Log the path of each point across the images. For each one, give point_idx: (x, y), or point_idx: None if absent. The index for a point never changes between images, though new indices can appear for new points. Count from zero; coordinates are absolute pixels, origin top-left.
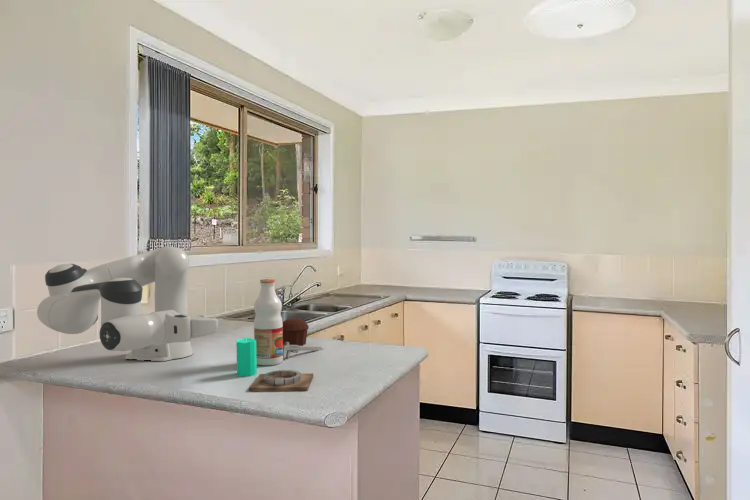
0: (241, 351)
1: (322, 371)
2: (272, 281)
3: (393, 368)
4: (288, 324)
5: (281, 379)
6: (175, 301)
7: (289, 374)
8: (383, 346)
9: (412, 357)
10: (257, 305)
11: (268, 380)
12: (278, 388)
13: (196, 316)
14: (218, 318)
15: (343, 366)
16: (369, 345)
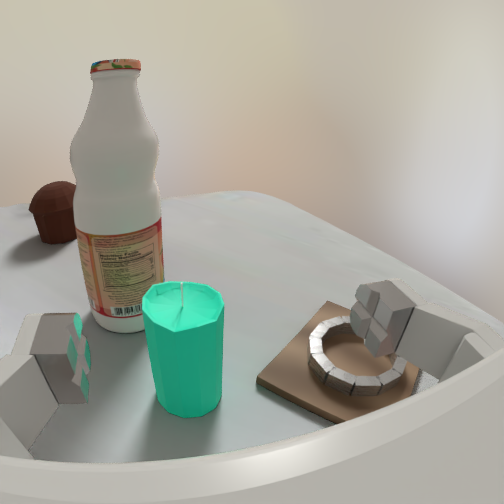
0: (203, 353)
1: (292, 283)
2: (140, 65)
3: (333, 233)
4: (56, 197)
5: (404, 361)
6: None
7: (330, 333)
8: (202, 197)
9: (287, 206)
10: (108, 150)
11: (386, 386)
12: (413, 384)
13: (426, 449)
14: (386, 291)
15: (279, 255)
16: (180, 200)
